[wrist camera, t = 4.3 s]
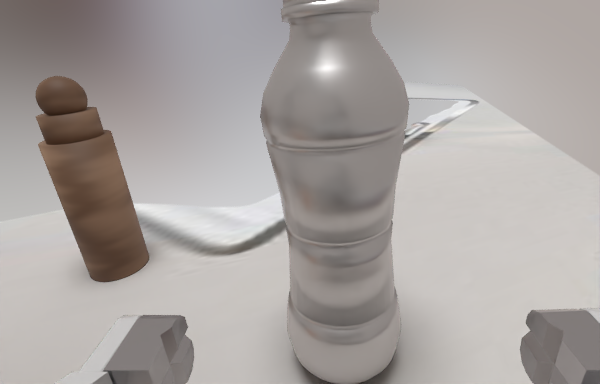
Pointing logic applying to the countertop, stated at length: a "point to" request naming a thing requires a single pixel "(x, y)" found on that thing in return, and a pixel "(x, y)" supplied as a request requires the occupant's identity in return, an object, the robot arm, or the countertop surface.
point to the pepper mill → (89, 181)
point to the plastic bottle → (337, 185)
